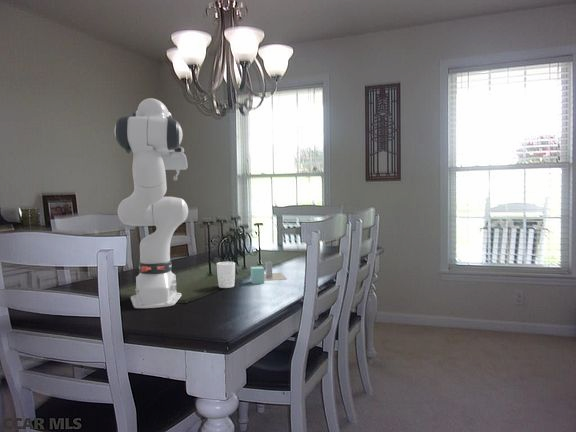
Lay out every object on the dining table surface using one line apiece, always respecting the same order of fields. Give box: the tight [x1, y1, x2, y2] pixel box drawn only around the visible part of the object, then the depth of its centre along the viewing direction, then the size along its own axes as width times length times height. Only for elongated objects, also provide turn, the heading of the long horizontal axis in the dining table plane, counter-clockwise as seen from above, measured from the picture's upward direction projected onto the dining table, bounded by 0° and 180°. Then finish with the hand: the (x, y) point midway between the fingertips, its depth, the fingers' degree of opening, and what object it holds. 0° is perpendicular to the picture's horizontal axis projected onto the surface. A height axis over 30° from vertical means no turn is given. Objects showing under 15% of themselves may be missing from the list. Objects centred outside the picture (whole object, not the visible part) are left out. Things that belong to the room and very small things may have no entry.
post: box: [264, 261, 288, 282], centre depth 214 cm, size 14×14×7 cm
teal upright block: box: [250, 265, 265, 285], centre depth 203 cm, size 5×5×7 cm
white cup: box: [216, 261, 236, 289], centre depth 196 cm, size 8×8×10 cm
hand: (164, 180), depth 204 cm, fingers open, 8 cm apart
